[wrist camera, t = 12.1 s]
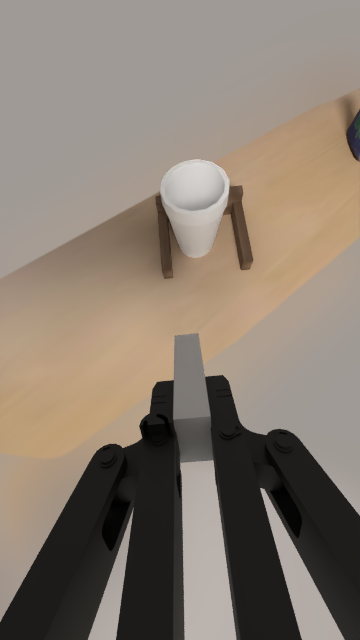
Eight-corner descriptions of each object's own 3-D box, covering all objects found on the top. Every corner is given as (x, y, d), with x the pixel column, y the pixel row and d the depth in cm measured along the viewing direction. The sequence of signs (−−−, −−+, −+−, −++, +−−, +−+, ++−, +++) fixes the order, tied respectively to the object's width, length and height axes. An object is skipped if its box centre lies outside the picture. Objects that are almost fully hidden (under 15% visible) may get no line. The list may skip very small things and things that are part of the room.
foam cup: (173, 220, 49) (164, 158, 36) (222, 222, 48) (230, 159, 35) (168, 264, 46) (156, 213, 33) (219, 267, 45) (227, 216, 33)
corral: (164, 278, 45) (160, 264, 40) (159, 215, 49) (155, 196, 44) (249, 269, 44) (255, 253, 40) (237, 206, 49) (241, 185, 44)
